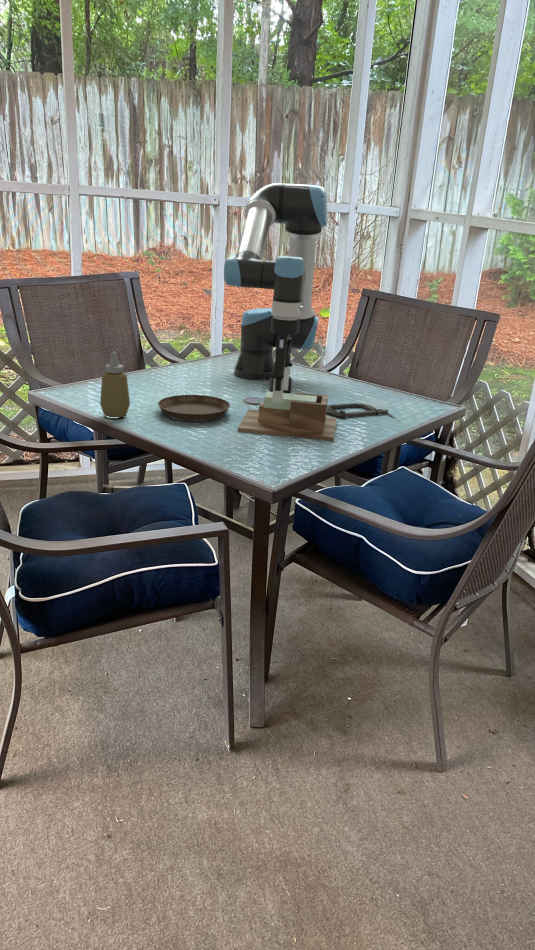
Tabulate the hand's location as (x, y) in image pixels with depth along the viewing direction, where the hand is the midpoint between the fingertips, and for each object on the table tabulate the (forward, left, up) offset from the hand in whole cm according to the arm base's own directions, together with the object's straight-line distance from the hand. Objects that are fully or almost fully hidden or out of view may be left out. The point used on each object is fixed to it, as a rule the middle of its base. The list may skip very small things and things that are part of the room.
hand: (280, 395), depth 184 cm
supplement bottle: (-19, -2, -9) cm, 21 cm away
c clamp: (-19, +22, -9) cm, 30 cm away
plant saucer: (-3, -25, -9) cm, 27 cm away
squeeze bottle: (+7, -45, -9) cm, 46 cm away
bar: (0, +3, -3) cm, 4 cm away
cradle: (0, +3, -9) cm, 9 cm away
